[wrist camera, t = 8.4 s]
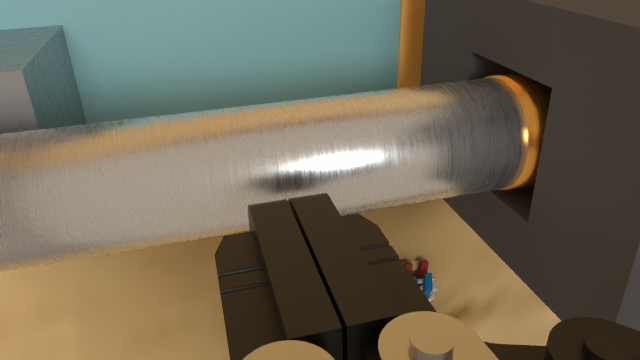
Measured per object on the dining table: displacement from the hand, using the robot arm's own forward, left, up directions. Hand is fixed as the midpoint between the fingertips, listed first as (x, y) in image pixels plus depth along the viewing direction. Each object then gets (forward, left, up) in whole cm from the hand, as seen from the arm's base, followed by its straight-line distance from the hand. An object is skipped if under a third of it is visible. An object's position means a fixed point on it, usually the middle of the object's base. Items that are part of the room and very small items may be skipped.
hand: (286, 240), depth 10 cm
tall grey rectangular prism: (0, +8, -8) cm, 11 cm away
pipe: (0, +3, -11) cm, 12 cm away
